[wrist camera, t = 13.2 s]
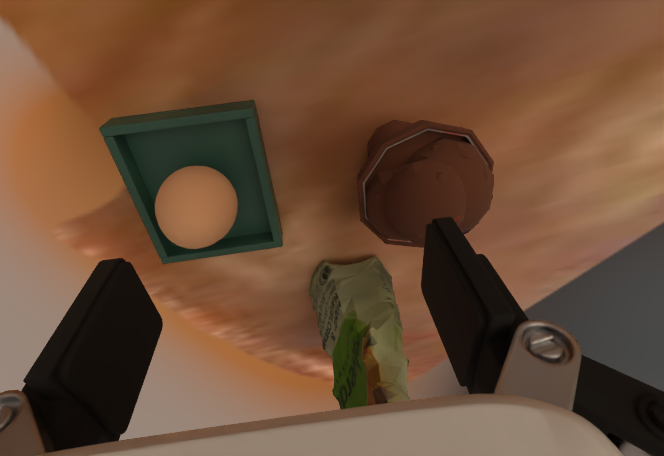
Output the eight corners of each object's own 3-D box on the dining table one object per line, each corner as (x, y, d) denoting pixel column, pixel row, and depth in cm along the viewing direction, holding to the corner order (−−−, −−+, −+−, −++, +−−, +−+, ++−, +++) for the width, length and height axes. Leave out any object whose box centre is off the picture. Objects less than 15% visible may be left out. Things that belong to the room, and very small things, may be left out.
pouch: (337, 325, 50) (376, 563, 29) (282, 275, 44) (284, 532, 23) (406, 286, 47) (503, 518, 27) (359, 227, 41) (438, 469, 21)
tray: (110, 118, 32) (98, 128, 29) (254, 99, 32) (252, 108, 30) (169, 249, 40) (162, 264, 38) (282, 232, 40) (282, 246, 38)
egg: (236, 219, 38) (227, 273, 31) (168, 209, 36) (140, 264, 29) (245, 159, 35) (237, 204, 27) (169, 145, 33) (139, 189, 26)
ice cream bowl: (346, 203, 39) (377, 303, 27) (336, 98, 33) (370, 167, 21) (442, 188, 40) (515, 280, 27) (450, 81, 33) (550, 139, 21)
